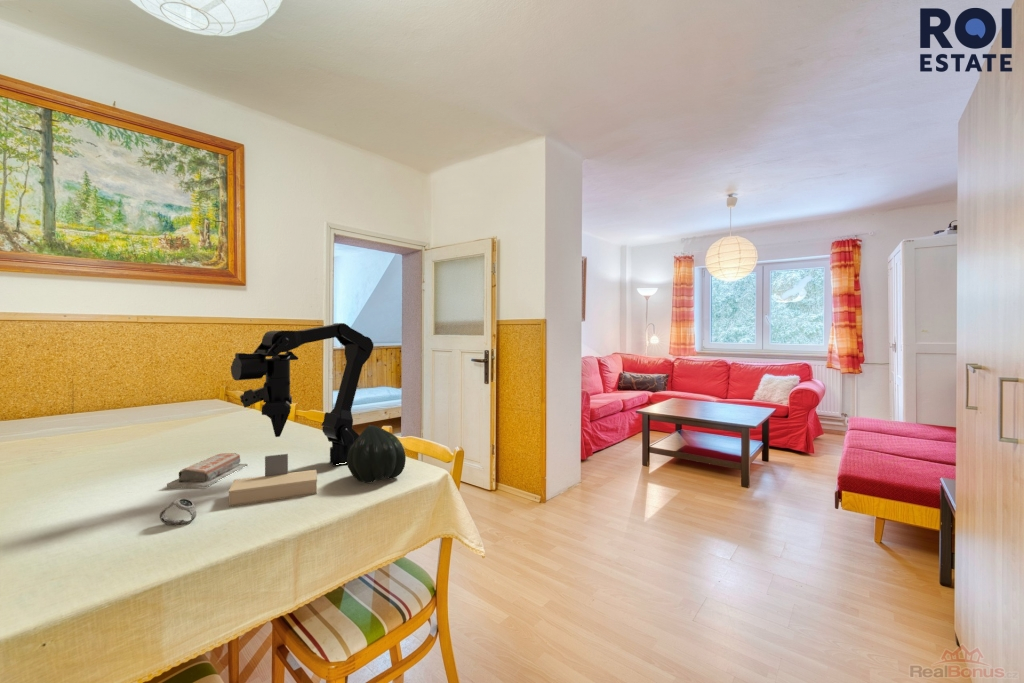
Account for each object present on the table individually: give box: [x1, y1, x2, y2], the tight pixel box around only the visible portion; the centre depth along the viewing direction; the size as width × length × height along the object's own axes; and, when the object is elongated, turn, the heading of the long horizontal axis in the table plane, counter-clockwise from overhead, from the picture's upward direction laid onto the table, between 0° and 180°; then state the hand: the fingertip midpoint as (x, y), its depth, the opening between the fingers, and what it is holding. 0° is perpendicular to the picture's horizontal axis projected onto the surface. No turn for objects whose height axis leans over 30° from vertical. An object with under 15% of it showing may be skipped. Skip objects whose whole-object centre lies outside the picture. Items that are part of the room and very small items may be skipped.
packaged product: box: [166, 452, 249, 489], centre depth 115 cm, size 18×5×10 cm
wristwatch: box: [159, 498, 197, 527], centre depth 87 cm, size 4×6×5 cm, turn 102°
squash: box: [346, 424, 407, 484], centre depth 115 cm, size 14×15×15 cm
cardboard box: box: [228, 480, 318, 507], centre depth 103 cm, size 18×8×3 cm, turn 116°
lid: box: [228, 453, 318, 494], centre depth 103 cm, size 18×8×6 cm, turn 116°
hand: (278, 435), depth 112 cm, fingers open, 3 cm apart
